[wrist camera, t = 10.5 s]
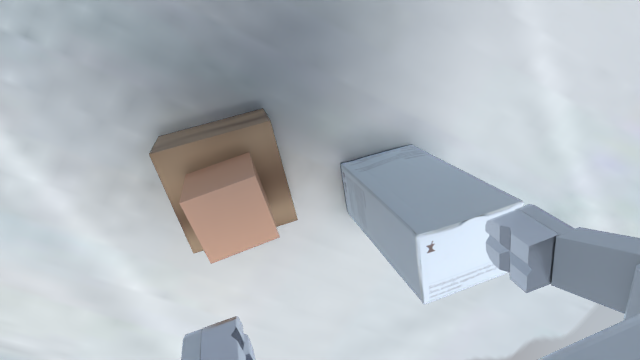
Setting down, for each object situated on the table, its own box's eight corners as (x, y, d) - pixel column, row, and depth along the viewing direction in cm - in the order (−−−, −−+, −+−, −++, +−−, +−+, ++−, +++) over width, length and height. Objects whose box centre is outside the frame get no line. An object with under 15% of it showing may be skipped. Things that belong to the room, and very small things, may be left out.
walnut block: (158, 135, 30) (148, 154, 26) (262, 107, 31) (270, 120, 27) (196, 224, 34) (193, 253, 30) (287, 195, 35) (297, 219, 31)
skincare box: (346, 212, 37) (417, 312, 24) (338, 159, 35) (412, 239, 22) (419, 191, 39) (523, 275, 26) (416, 139, 36) (531, 203, 23)
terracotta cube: (185, 174, 27) (179, 203, 22) (249, 151, 27) (255, 175, 23) (212, 227, 29) (211, 263, 25) (270, 205, 30) (279, 237, 25)
